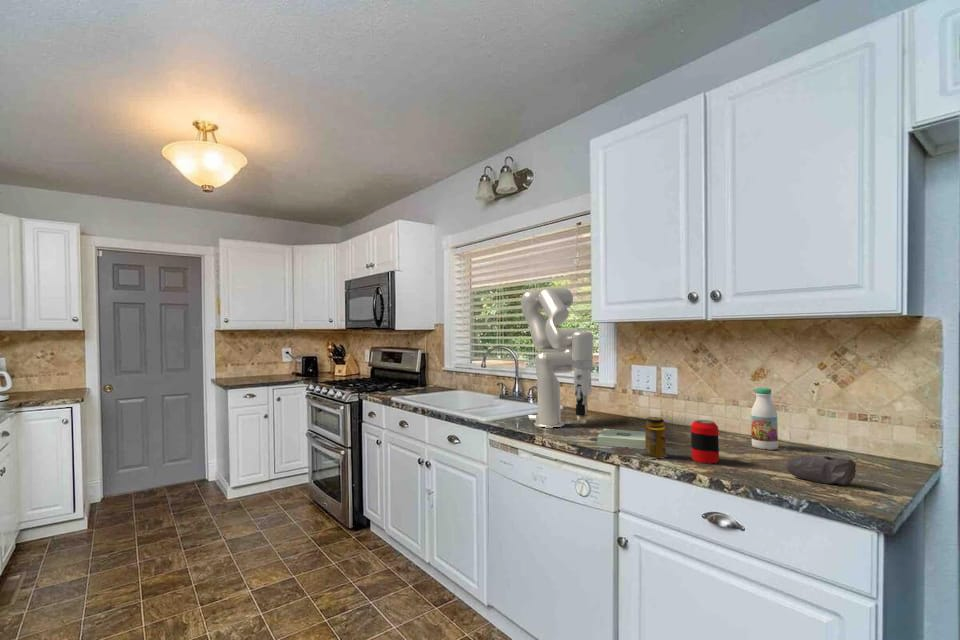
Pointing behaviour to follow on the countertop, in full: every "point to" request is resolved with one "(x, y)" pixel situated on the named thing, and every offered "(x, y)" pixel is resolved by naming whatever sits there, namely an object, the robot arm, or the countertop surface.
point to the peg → (583, 418)
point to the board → (622, 438)
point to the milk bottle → (764, 421)
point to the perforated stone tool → (822, 469)
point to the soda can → (704, 441)
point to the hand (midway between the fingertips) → (581, 413)
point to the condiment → (654, 438)
